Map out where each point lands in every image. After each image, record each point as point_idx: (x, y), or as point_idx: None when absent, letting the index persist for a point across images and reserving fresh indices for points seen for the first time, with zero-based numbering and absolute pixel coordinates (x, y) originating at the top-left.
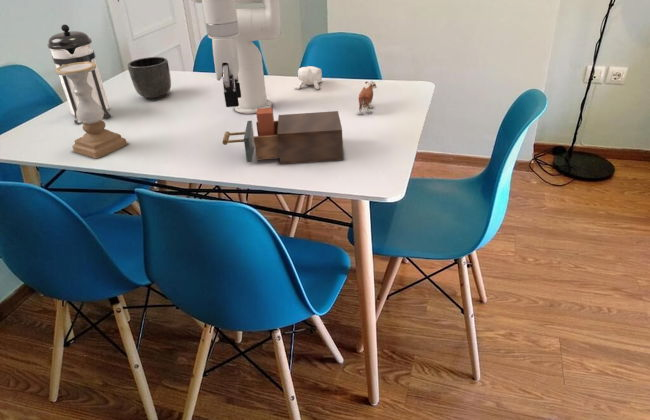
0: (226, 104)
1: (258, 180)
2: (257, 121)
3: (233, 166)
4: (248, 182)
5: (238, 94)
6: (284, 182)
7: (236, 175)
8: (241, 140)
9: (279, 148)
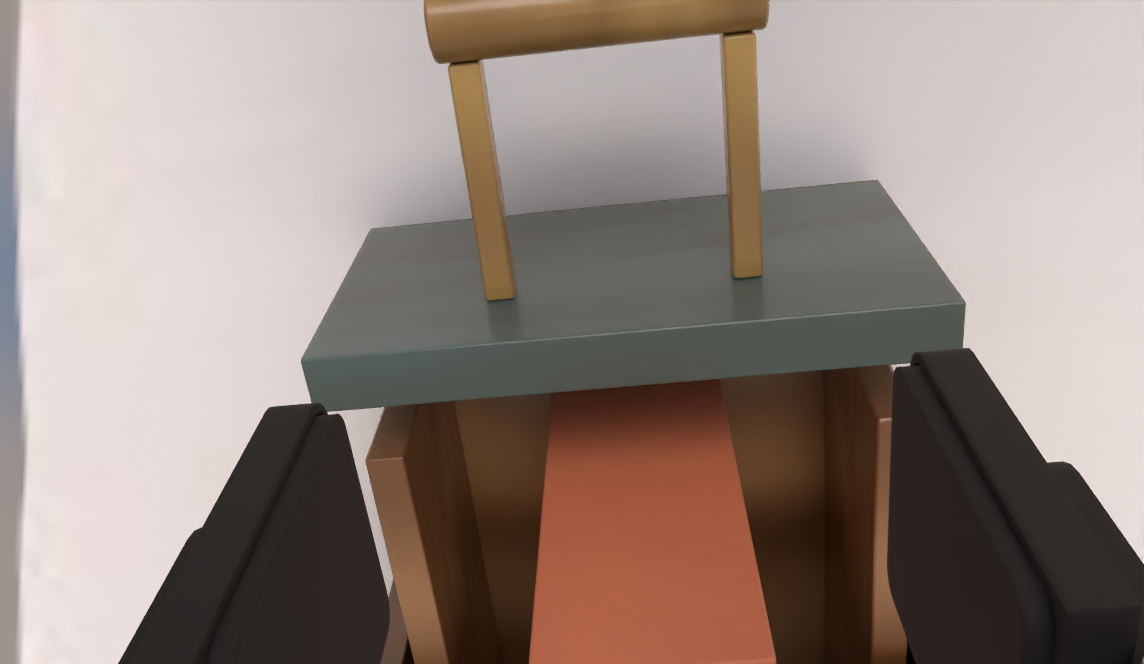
0: (263, 442)
1: (91, 359)
2: (538, 588)
3: (351, 67)
4: (36, 281)
5: (909, 603)
6: (96, 550)
7: (153, 142)
8: (478, 249)
9: (390, 605)
